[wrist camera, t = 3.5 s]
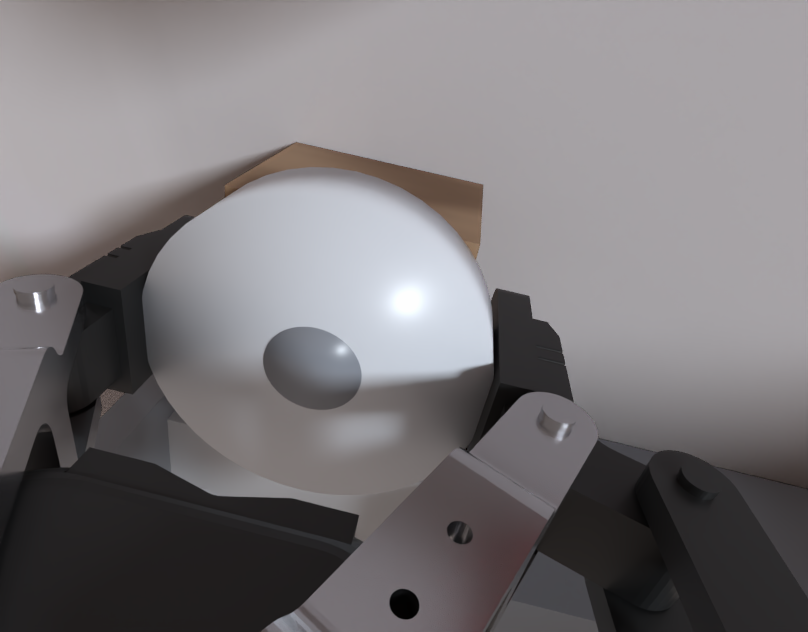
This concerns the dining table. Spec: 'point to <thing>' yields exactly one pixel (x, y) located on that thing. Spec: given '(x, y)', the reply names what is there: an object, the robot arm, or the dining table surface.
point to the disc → (322, 331)
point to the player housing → (566, 590)
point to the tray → (215, 459)
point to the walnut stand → (439, 192)
